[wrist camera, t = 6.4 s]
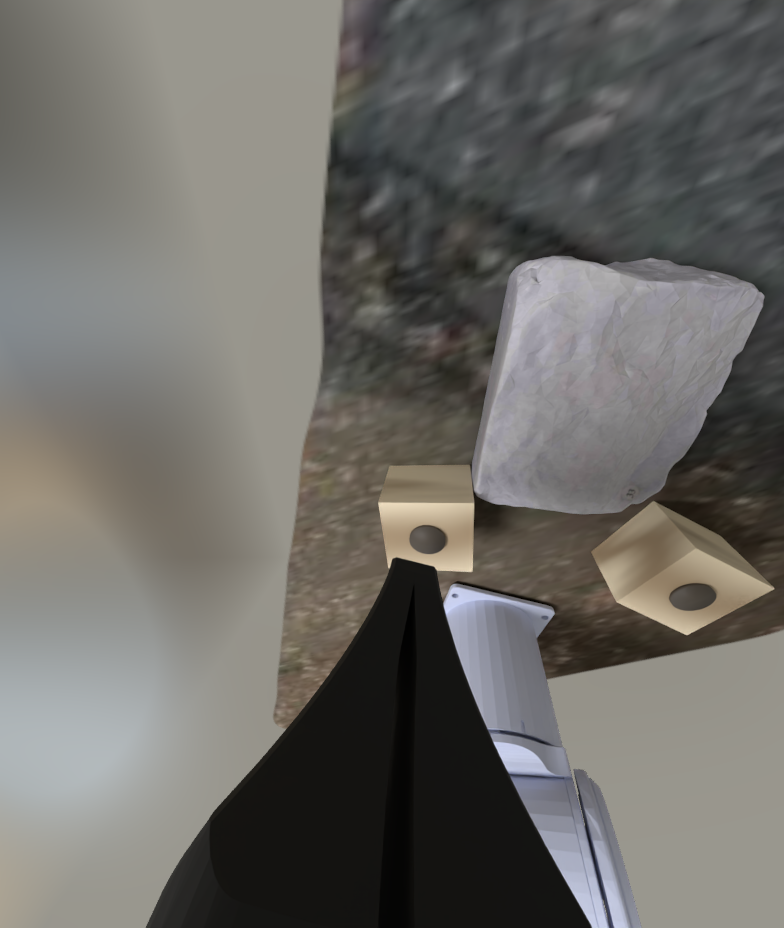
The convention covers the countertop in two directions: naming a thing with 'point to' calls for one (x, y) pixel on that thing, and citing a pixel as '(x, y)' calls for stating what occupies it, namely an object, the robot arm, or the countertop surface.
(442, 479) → the beech block
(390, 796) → the robot arm
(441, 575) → the countertop surface
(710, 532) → the beech block
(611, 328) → the stone block
